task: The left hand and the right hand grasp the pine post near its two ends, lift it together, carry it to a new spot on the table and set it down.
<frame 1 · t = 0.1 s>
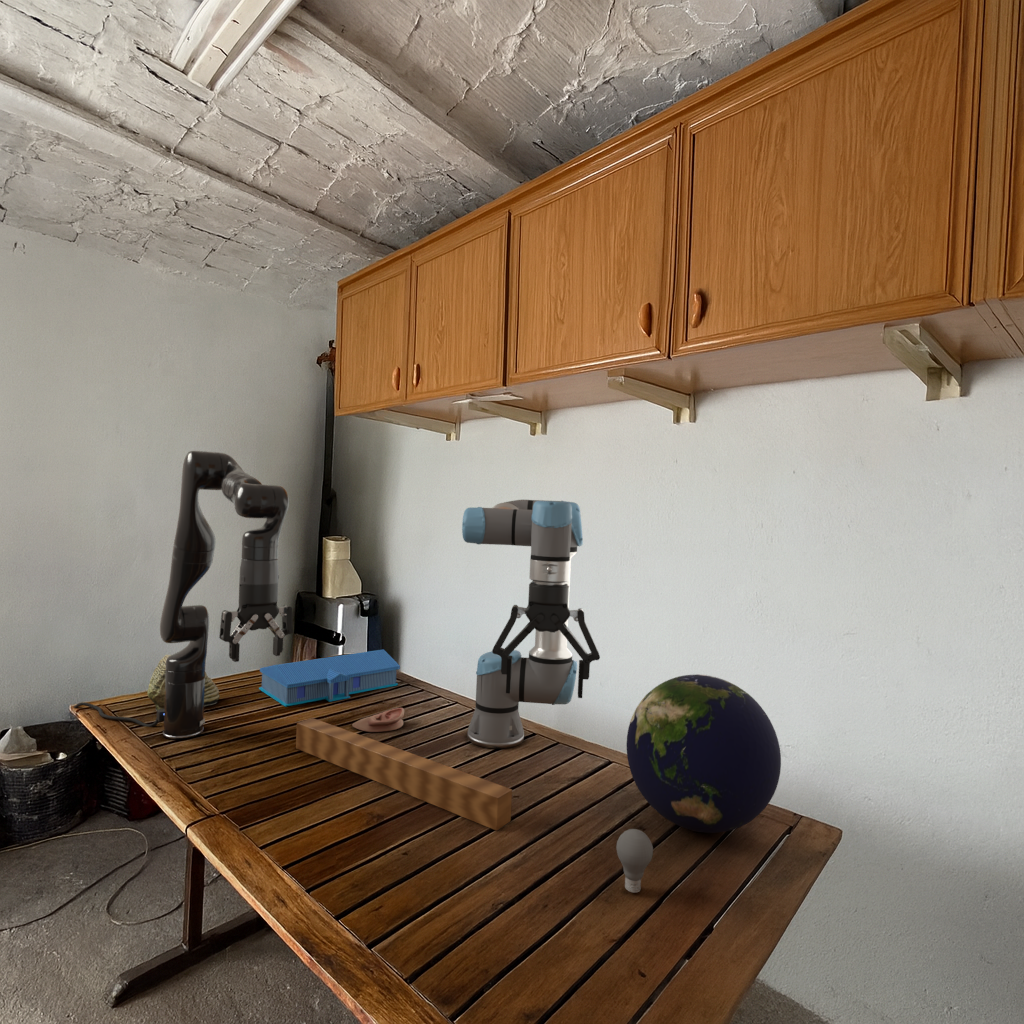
left hand: (256, 658, 132), 29 cm above the table, tool pointing down, fingers open, 8 cm apart
right hand: (544, 693, 120), 28 cm above the table, tool pointing down, fingers open, 13 cm apart
post: (391, 780, 143), on the table
fossil: (183, 706, 185), on the table
light bulb: (632, 891, 106), on the table
model building: (332, 688, 208), on the table
anatomical model: (378, 725, 176), on the table
globe: (697, 824, 129), on the table
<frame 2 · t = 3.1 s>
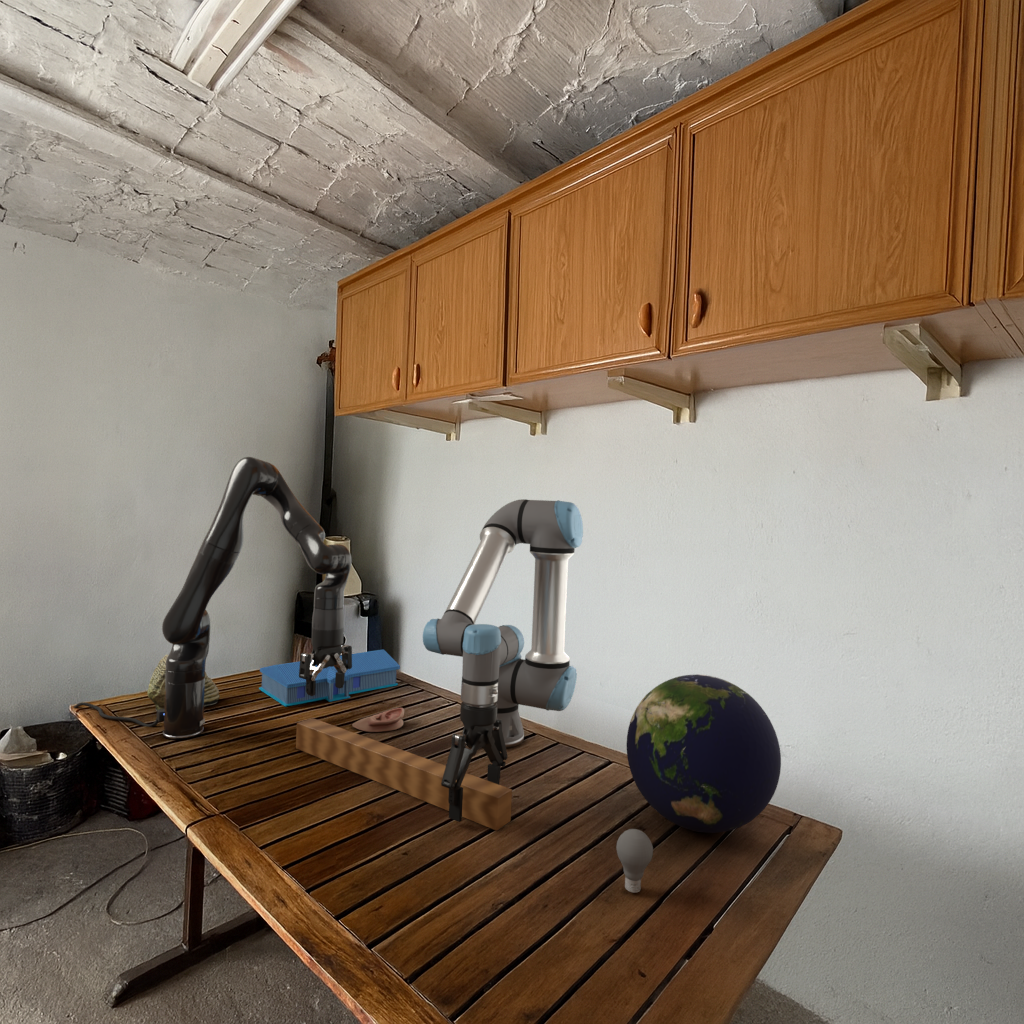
left hand: (325, 691, 156), 15 cm above the table, tool pointing down, fingers open, 8 cm apart
right hand: (474, 807, 129), 1 cm above the table, tool pointing down, fingers open, 12 cm apart
nothing on the table moved.
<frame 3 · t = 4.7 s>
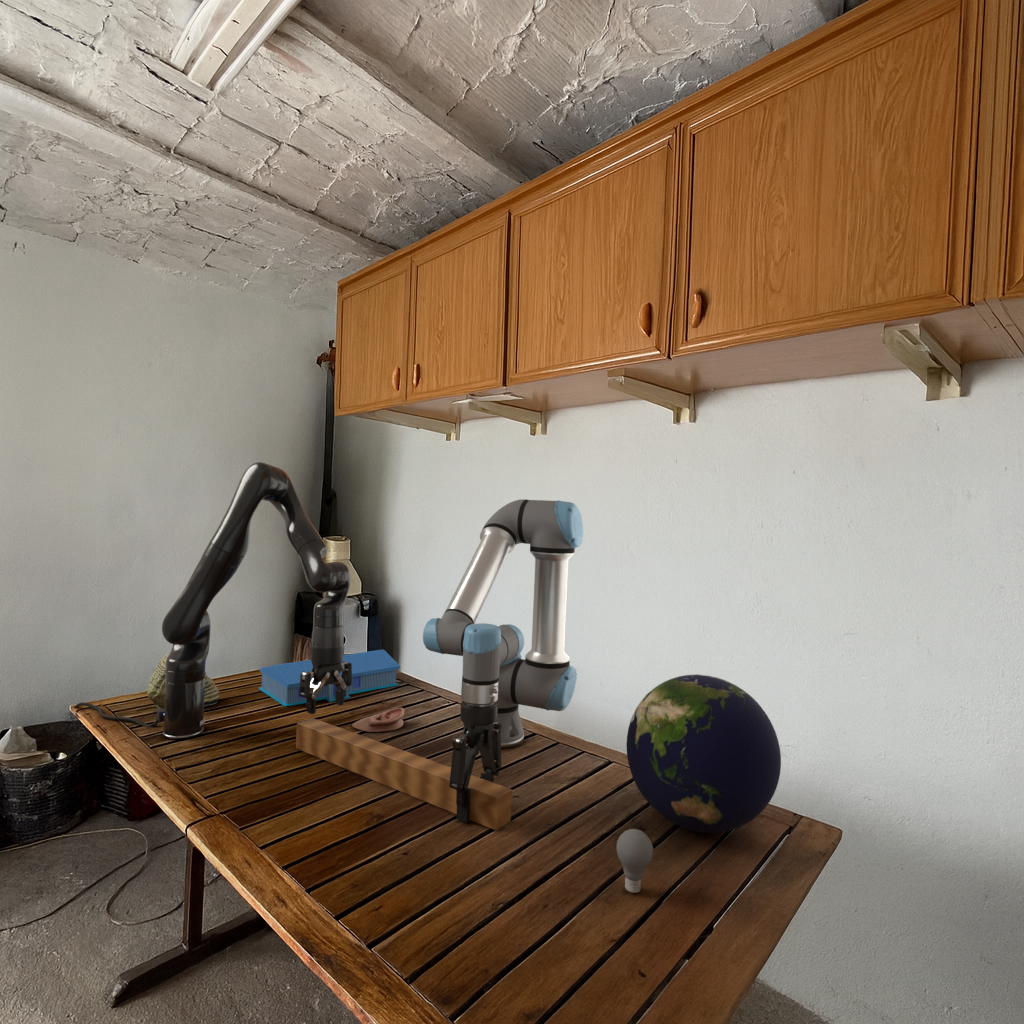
left hand: (325, 708, 156), 11 cm above the table, tool pointing down, fingers open, 8 cm apart
right hand: (474, 812, 129), 0 cm above the table, tool pointing down, fingers open, 7 cm apart
nothing on the table moved.
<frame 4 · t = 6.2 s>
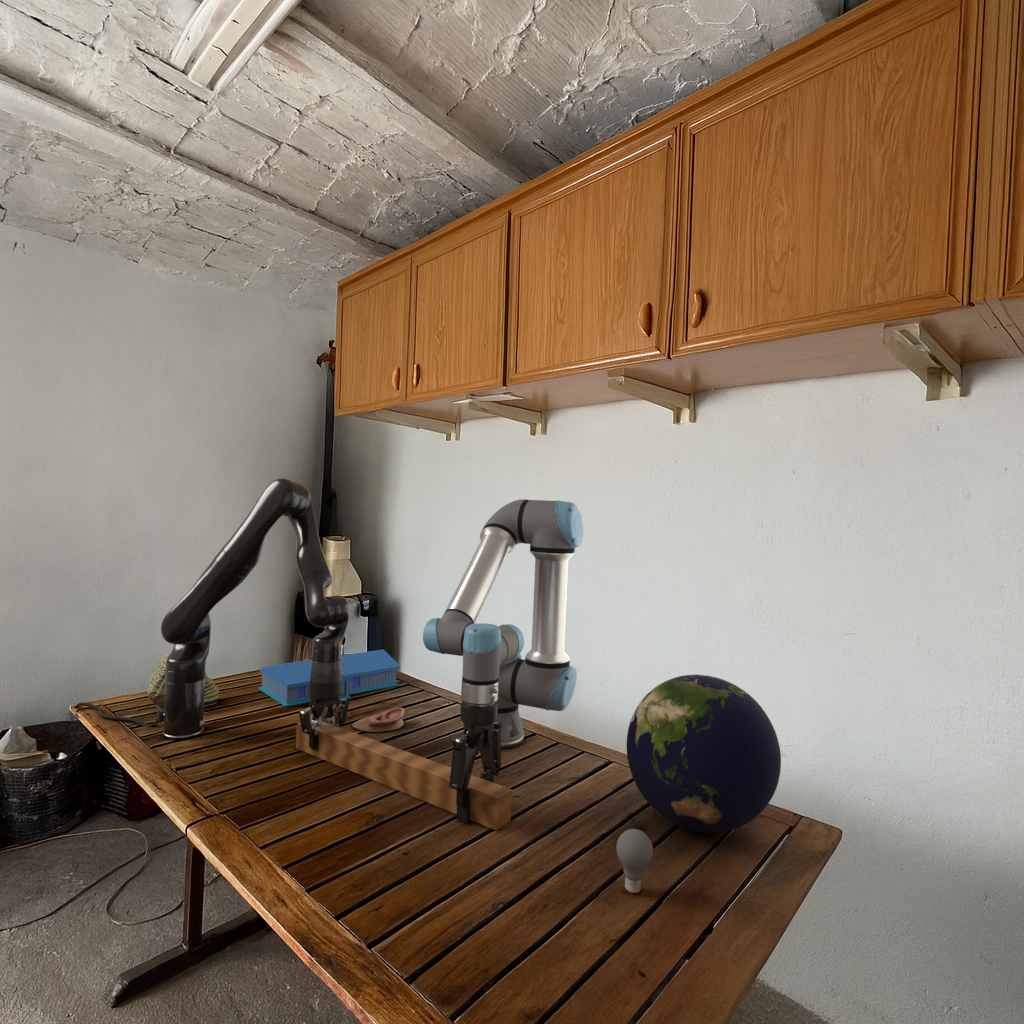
left hand: (323, 745, 156), 2 cm above the table, tool pointing down, fingers closed on post, 5 cm apart
right hand: (474, 812, 129), 0 cm above the table, tool pointing down, fingers open, 7 cm apart
post: (391, 780, 143), on the table, touching left hand
everything else where it was.
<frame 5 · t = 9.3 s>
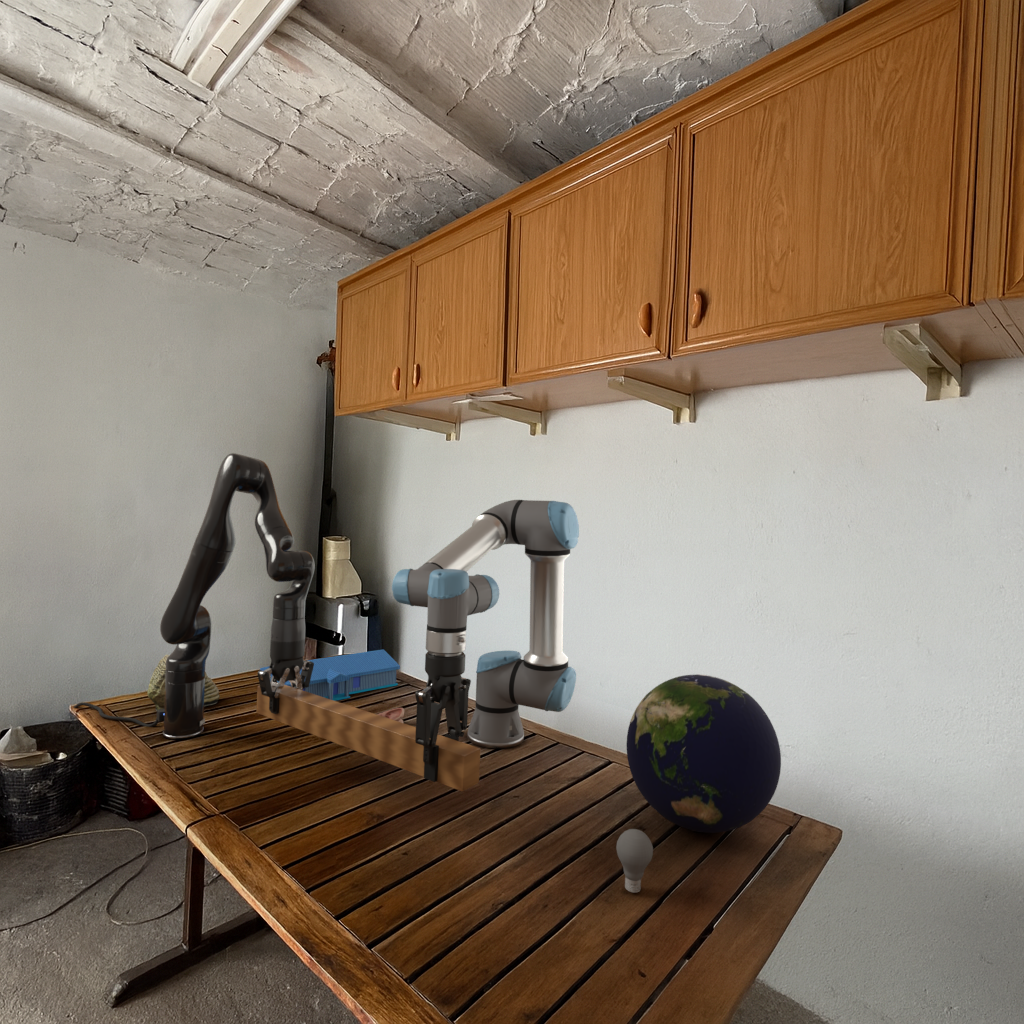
left hand: (285, 709, 146), 14 cm above the table, tool pointing down, fingers closed on post, 5 cm apart
right hand: (440, 774, 120), 12 cm above the table, tool pointing down, fingers closed on post, 5 cm apart
post: (354, 743, 133), point 12 cm above the table, touching left hand, right hand
everything else where it was.
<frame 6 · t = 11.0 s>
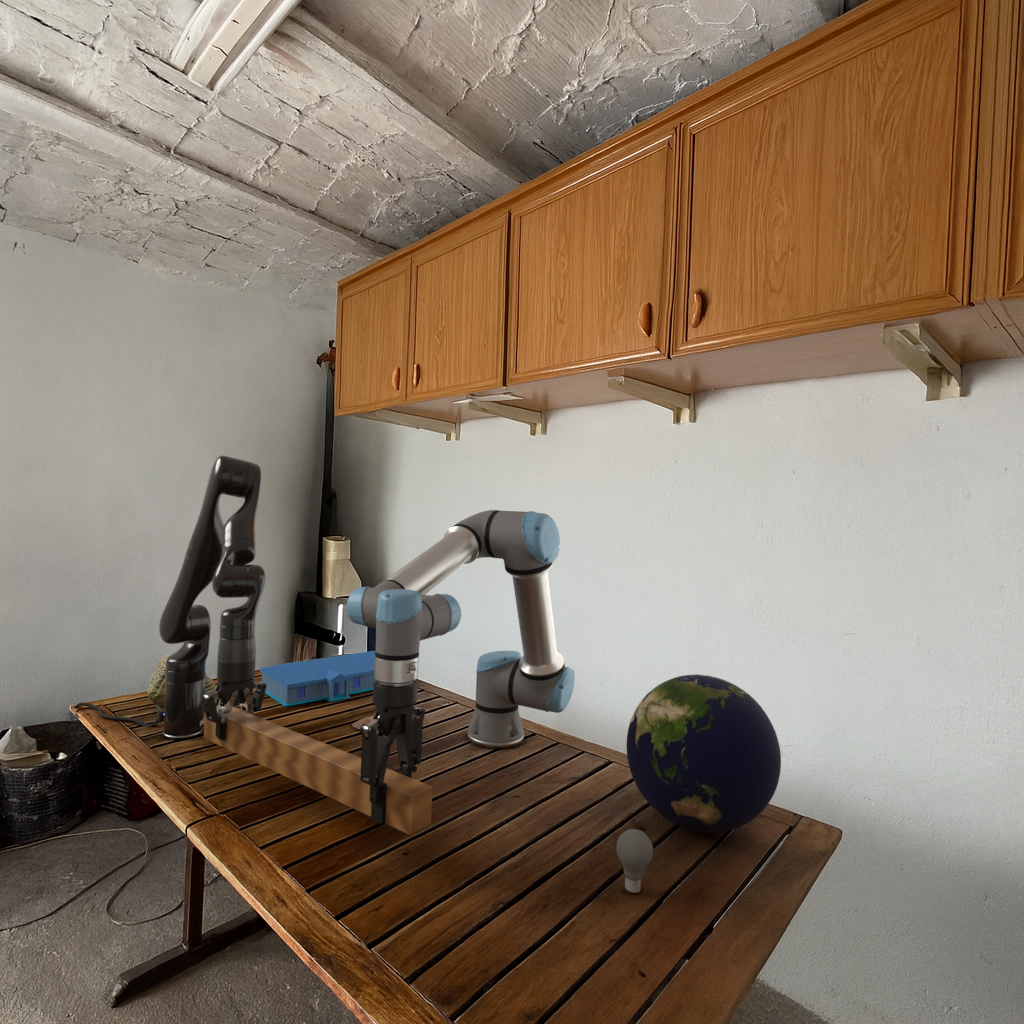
left hand: (233, 735, 136), 11 cm above the table, tool pointing down, fingers closed on post, 5 cm apart
right hand: (389, 813, 110), 9 cm above the table, tool pointing down, fingers closed on post, 5 cm apart
post: (302, 775, 123), point 9 cm above the table, touching left hand, right hand
everything else where it was.
when the right hand's fingers open (1 cm above the table, at t = 12.2 s): post stays where it is, on the table.
when the left hand's fingers open (3 cm above the table, at t = 12.4 s): post stays where it is, on the table.
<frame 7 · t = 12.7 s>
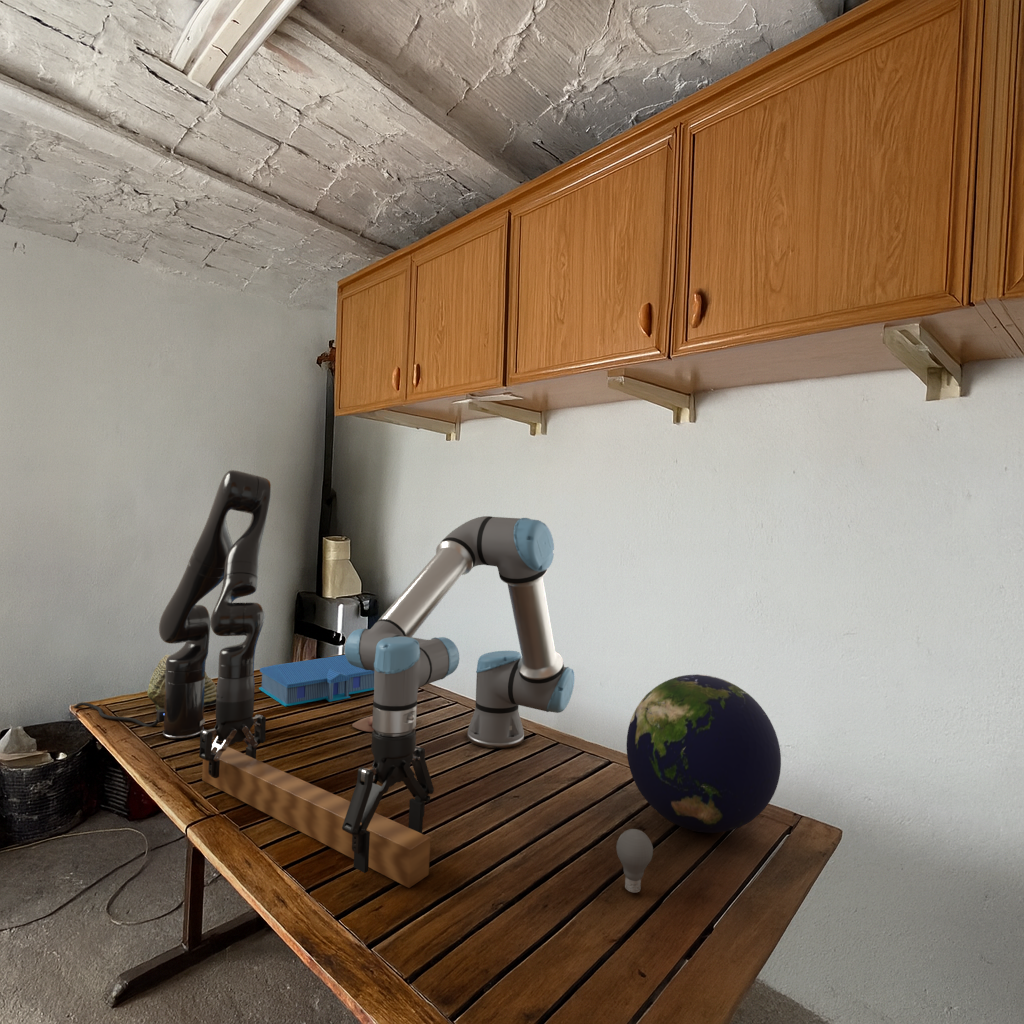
left hand: (232, 770, 136), 4 cm above the table, tool pointing down, fingers open, 7 cm apart
right hand: (389, 852, 110), 3 cm above the table, tool pointing down, fingers open, 12 cm apart
post: (301, 821, 123), on the table
everything else where it was.
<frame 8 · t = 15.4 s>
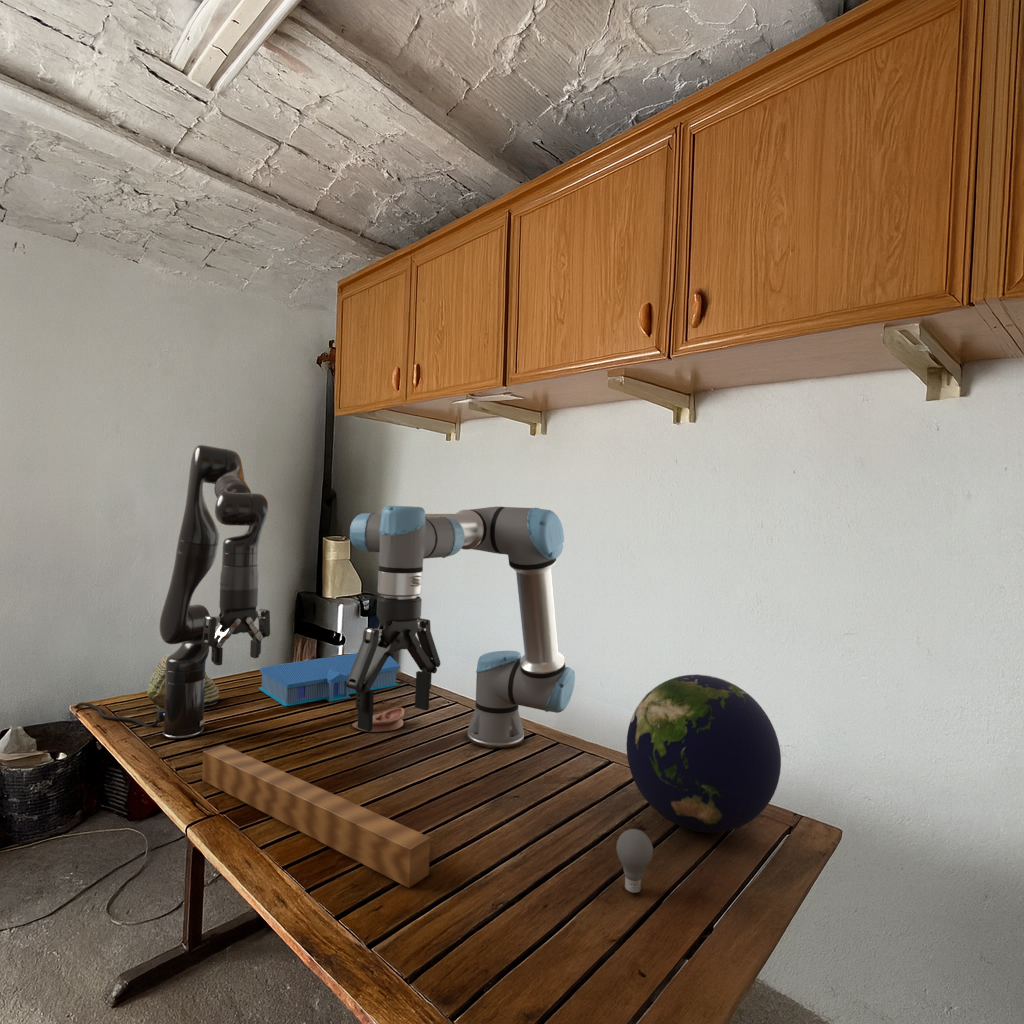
left hand: (236, 661, 136), 27 cm above the table, tool pointing down, fingers open, 8 cm apart
right hand: (394, 718, 109), 26 cm above the table, tool pointing down, fingers open, 13 cm apart
nothing on the table moved.
at the end: post inside the target area (0.4 cm from its centre), on the table; post tilted 0°; post never tilted more than 1° during the clip; both hands held the post at the same time; the left hand is holding nothing; the right hand is holding nothing; post at rest at the end (0.0 cm/s) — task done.
